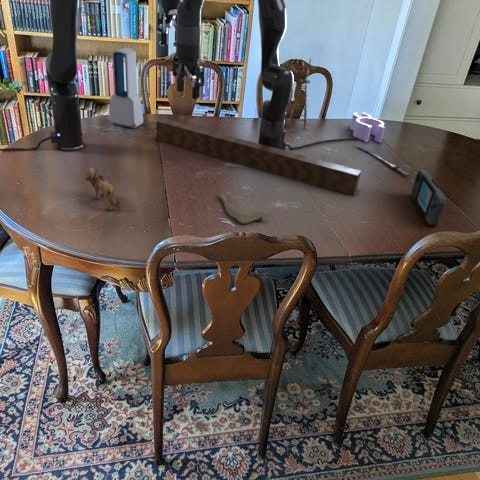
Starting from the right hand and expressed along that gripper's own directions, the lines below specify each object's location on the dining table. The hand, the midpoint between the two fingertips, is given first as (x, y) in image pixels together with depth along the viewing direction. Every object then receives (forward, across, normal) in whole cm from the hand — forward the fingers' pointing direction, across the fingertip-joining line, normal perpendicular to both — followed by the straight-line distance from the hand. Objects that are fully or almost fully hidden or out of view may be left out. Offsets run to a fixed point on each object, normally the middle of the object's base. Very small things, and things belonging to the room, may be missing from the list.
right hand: (187, 95), depth 149 cm
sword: (+29, -29, -75) cm, 86 cm away
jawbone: (+27, -30, 0) cm, 41 cm away
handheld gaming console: (+28, -62, -53) cm, 86 cm away
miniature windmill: (+29, +18, -74) cm, 82 cm away
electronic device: (+27, +52, -4) cm, 59 cm away
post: (+28, -5, -26) cm, 38 cm away
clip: (+29, -5, -96) cm, 100 cm away
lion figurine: (+27, -5, +34) cm, 43 cm away
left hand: (-9, +28, -12) cm, 32 cm away
